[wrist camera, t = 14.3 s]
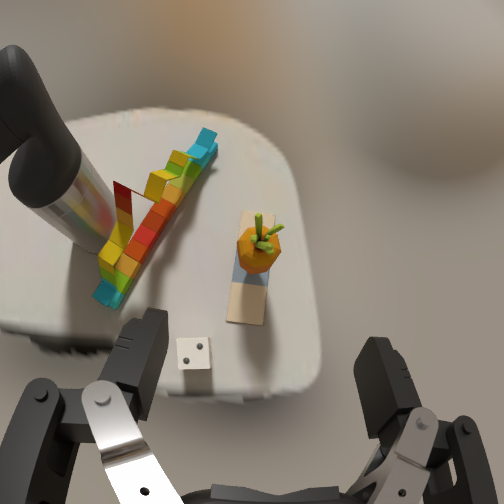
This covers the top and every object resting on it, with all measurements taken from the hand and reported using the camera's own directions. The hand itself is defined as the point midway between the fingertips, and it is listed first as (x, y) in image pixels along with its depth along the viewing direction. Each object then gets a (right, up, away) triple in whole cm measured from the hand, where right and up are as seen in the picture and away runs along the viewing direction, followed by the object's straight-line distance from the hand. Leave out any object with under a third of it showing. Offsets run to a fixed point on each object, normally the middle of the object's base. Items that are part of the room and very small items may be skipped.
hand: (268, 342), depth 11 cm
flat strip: (-1, +1, +32) cm, 32 cm away
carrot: (-1, +1, +32) cm, 32 cm away
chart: (-15, +9, +33) cm, 37 cm away
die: (-8, -10, +28) cm, 31 cm away
